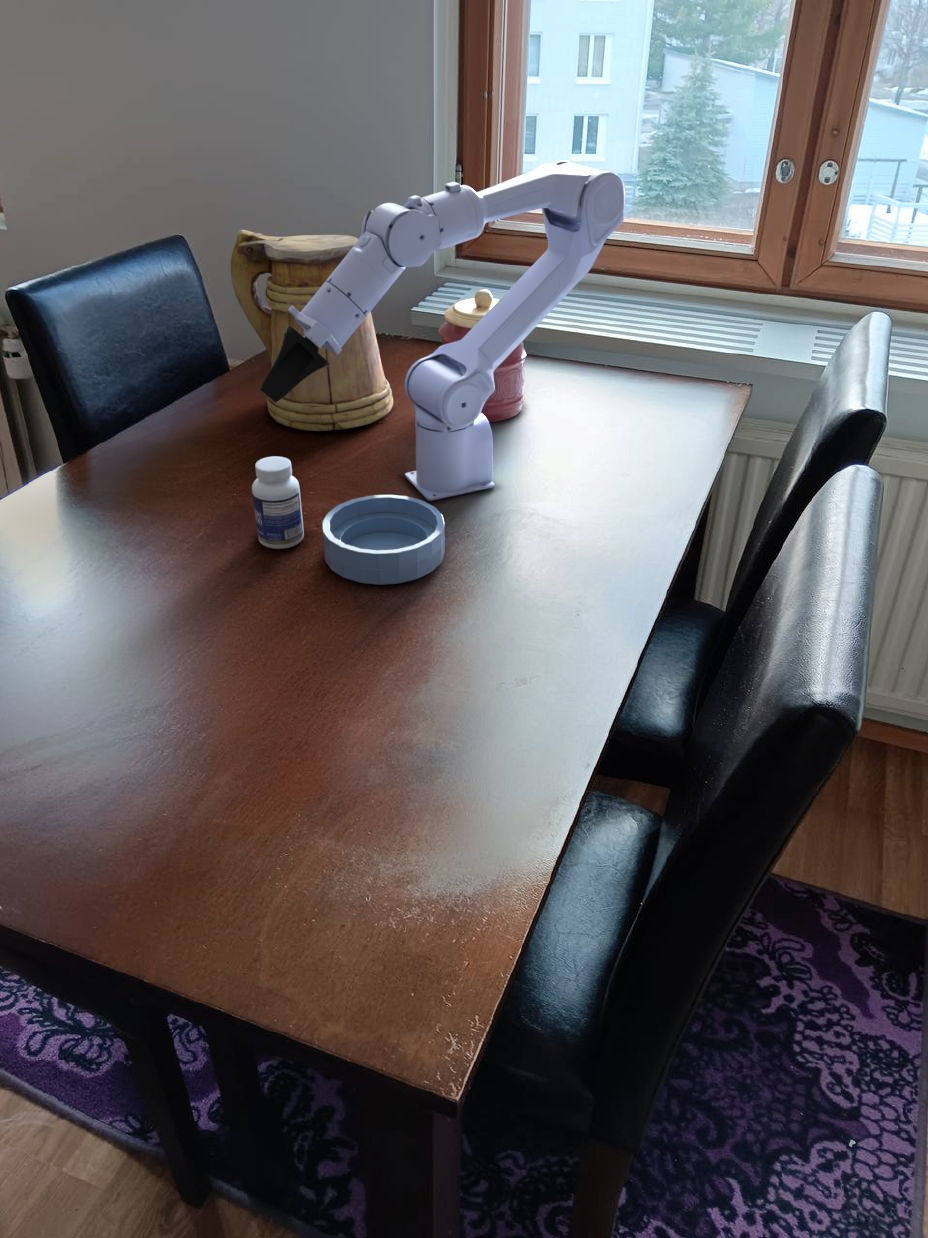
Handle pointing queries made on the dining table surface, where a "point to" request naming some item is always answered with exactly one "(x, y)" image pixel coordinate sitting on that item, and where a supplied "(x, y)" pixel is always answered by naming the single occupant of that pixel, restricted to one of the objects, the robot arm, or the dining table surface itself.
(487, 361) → the robot arm
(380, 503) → the bowl
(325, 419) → the tankard
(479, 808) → the dining table surface
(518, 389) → the kitchen canister
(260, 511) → the pill bottle
